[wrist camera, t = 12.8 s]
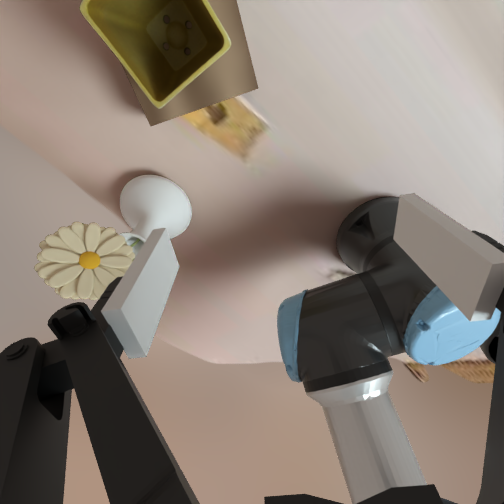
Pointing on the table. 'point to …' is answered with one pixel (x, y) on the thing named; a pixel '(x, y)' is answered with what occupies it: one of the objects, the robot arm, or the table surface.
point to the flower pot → (159, 40)
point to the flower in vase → (111, 239)
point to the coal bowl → (491, 344)
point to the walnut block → (209, 72)
